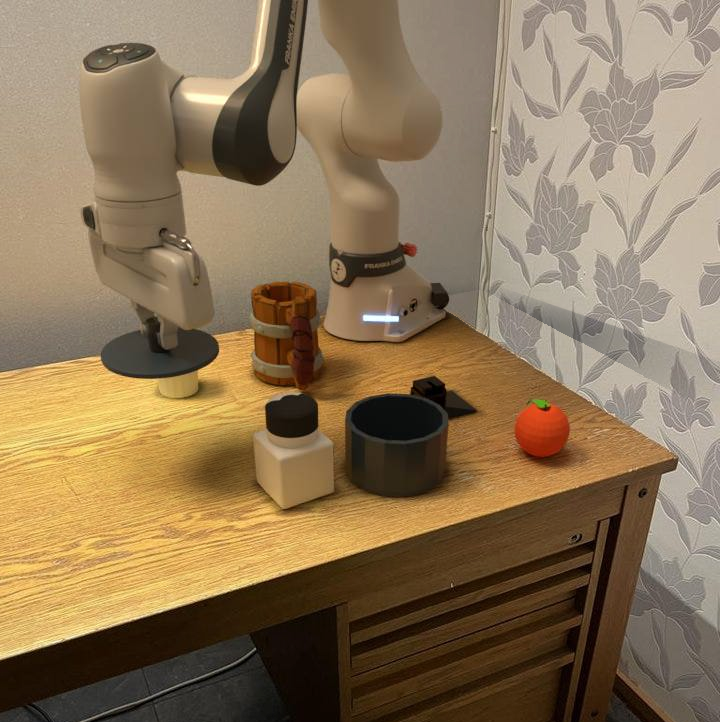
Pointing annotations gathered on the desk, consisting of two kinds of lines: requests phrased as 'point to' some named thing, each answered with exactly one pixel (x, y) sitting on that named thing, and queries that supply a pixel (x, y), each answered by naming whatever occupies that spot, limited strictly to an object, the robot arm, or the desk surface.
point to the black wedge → (442, 397)
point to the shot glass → (179, 385)
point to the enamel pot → (396, 444)
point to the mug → (286, 334)
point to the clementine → (542, 429)
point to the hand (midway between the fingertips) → (159, 341)
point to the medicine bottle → (293, 451)
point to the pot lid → (159, 353)
